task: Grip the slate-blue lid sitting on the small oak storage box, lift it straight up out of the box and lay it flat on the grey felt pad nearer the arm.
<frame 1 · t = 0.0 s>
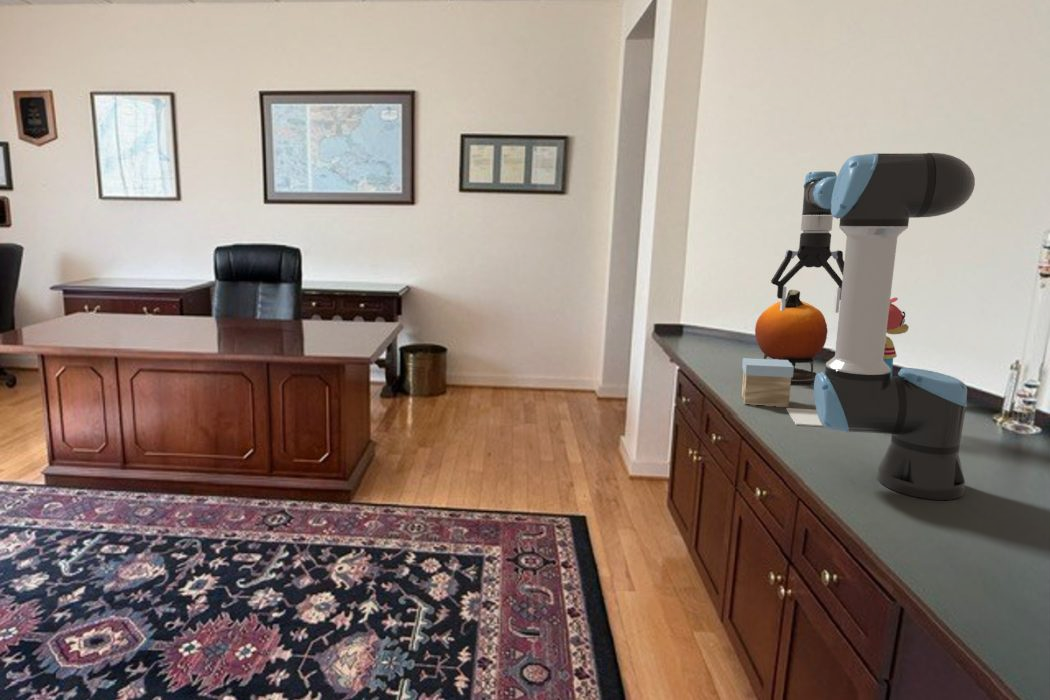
hand: (808, 311, 173), 28 cm above the sideboard, tool pointing down, fingers open, 13 cm apart
pumpkin: (787, 377, 216), on the sideboard
box: (764, 402, 186), on the sideboard
lid: (766, 372, 185), point 9 cm above the sideboard, touching box
pad: (818, 418, 171), on the sideboard
toy: (882, 396, 193), on the sideboard
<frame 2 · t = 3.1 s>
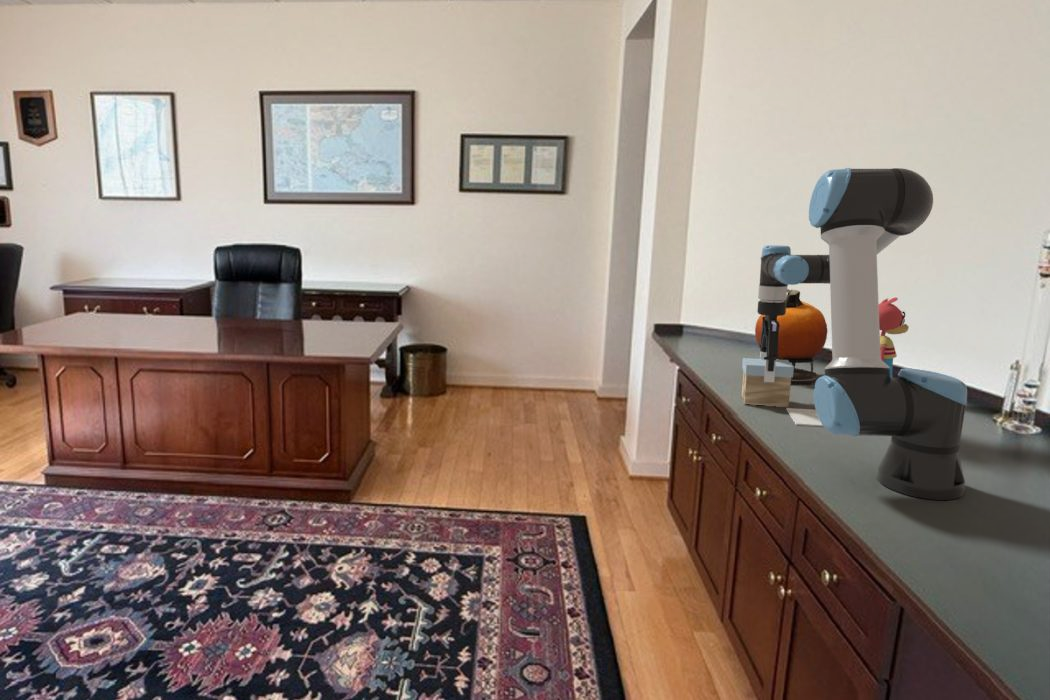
hand: (766, 377, 185), 7 cm above the sideboard, tool pointing down, fingers closed on lid, 9 cm apart
lid: (766, 372, 185), point 9 cm above the sideboard, touching box, gripper
everything else where it was.
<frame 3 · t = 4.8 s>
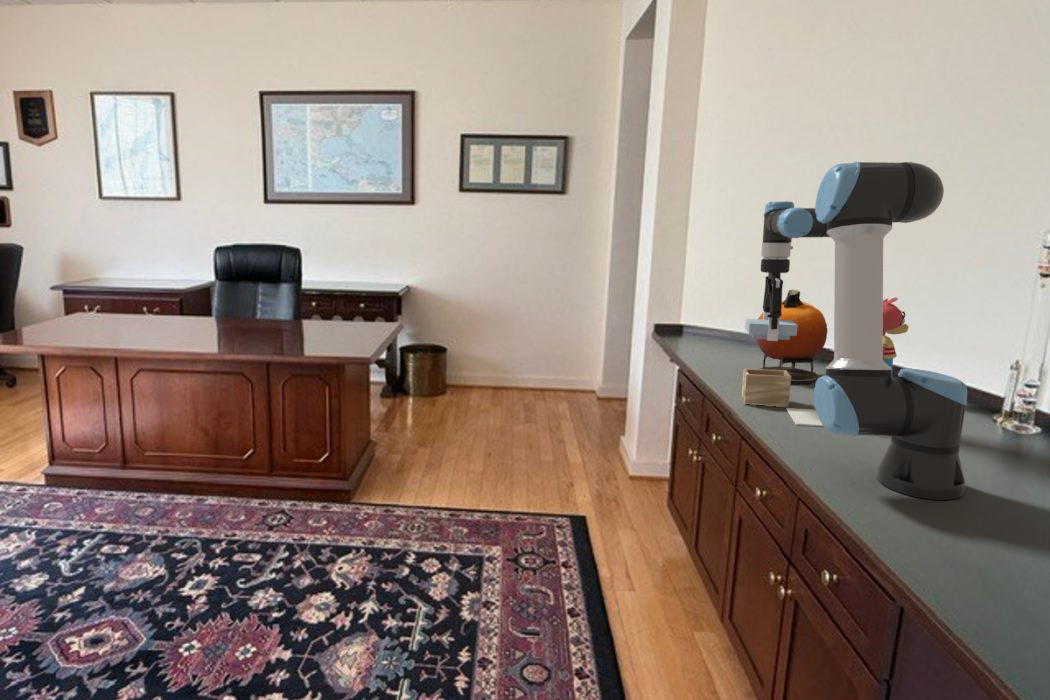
hand: (769, 337, 182), 19 cm above the sideboard, tool pointing down, fingers closed on lid, 9 cm apart
lid: (770, 332, 182), point 21 cm above the sideboard, touching gripper
everything else where it was.
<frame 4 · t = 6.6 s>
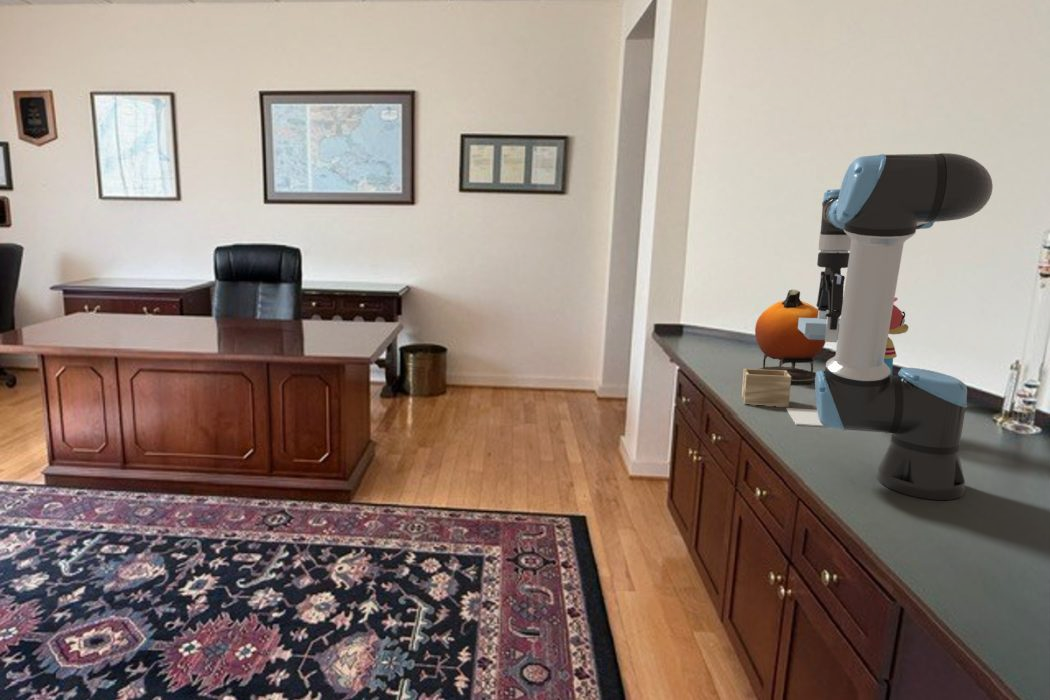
hand: (826, 338, 167), 22 cm above the sideboard, tool pointing down, fingers closed on lid, 9 cm apart
lid: (826, 332, 167), point 24 cm above the sideboard, touching gripper
everything else where it was.
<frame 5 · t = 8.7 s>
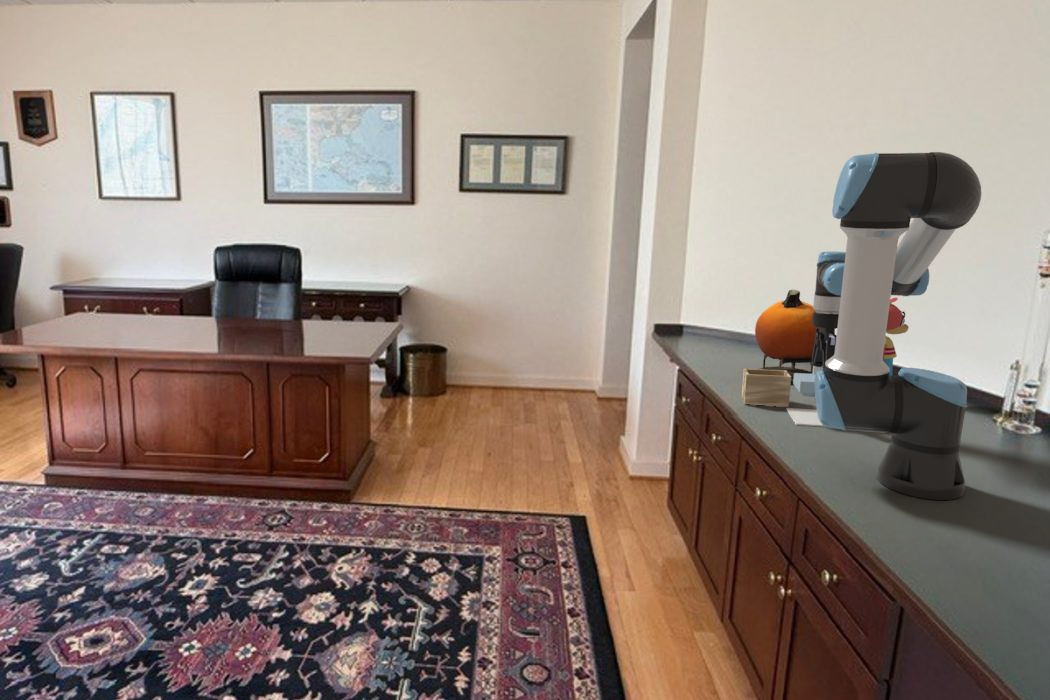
hand: (820, 394, 170), 7 cm above the sideboard, tool pointing down, fingers closed on lid, 9 cm apart
lid: (821, 389, 170), point 8 cm above the sideboard, touching gripper
everything else where it was.
when the fingers open (2 cm above the sideboard, at t = 10.4 s): lid drops 2 cm, resting on pad.
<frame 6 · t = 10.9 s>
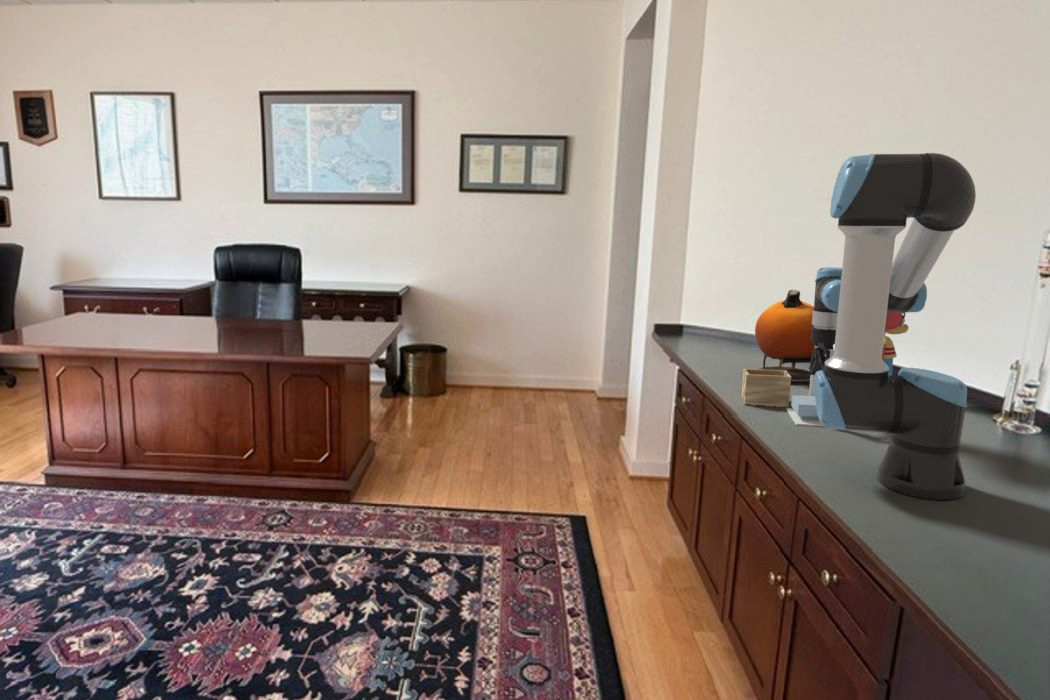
hand: (819, 405, 171), 4 cm above the sideboard, tool pointing down, fingers open, 13 cm apart
lid: (819, 411, 171), point 2 cm above the sideboard, touching pad
everything else where it was.
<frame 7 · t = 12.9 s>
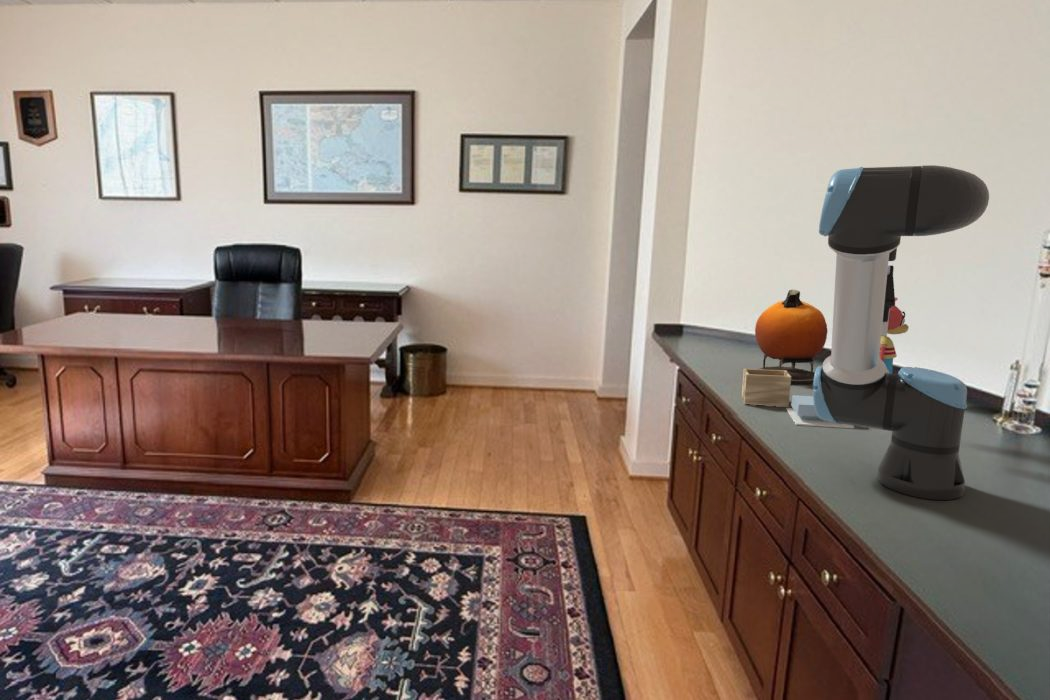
hand: (869, 331, 158), 25 cm above the sideboard, tool pointing down, fingers open, 13 cm apart
nothing on the sideboard moved.
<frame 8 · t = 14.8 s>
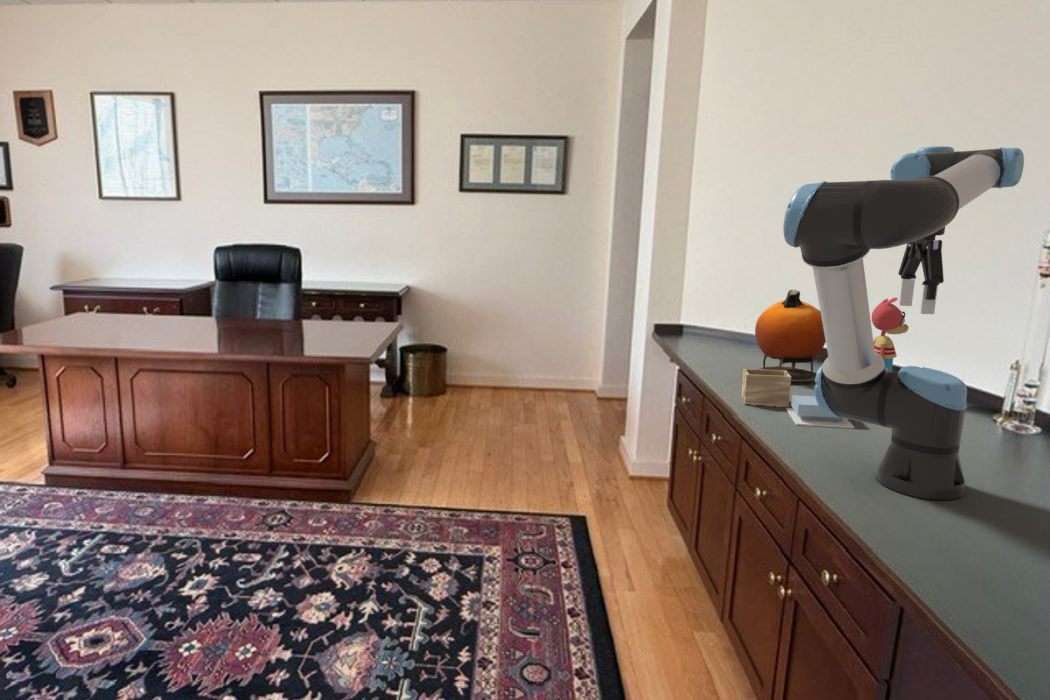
hand: (915, 309, 150), 32 cm above the sideboard, tool pointing down, fingers open, 13 cm apart
nothing on the sideboard moved.
at the end: lid inside the target area on the pad (0.0 cm from its centre), point 1.9 cm above the pad's base; lid tilted 0°; the gripper is holding nothing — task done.
